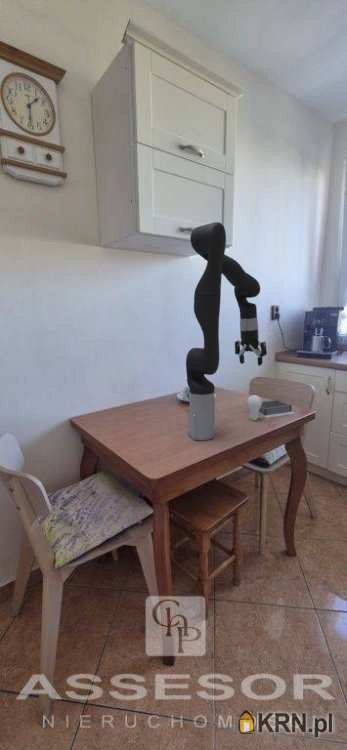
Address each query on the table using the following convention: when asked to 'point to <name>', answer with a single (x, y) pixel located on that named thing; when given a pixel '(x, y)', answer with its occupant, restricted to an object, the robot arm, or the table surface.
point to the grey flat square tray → (275, 409)
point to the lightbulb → (254, 406)
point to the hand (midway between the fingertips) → (251, 364)
